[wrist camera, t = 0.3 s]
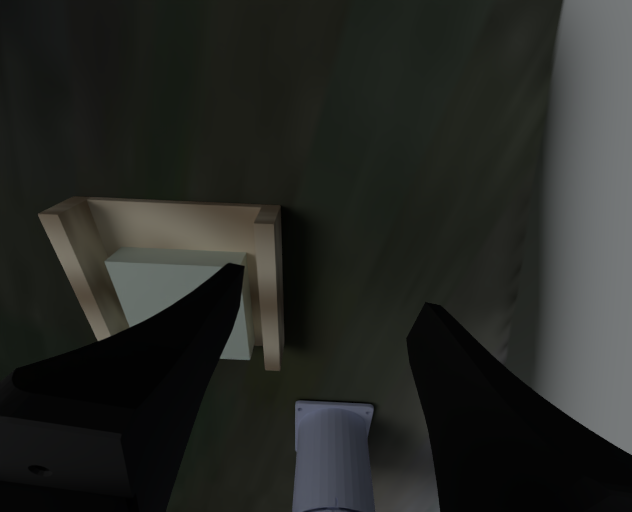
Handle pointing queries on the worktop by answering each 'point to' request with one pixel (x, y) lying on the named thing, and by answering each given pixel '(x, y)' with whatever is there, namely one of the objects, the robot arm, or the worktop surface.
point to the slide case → (169, 233)
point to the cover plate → (177, 286)
